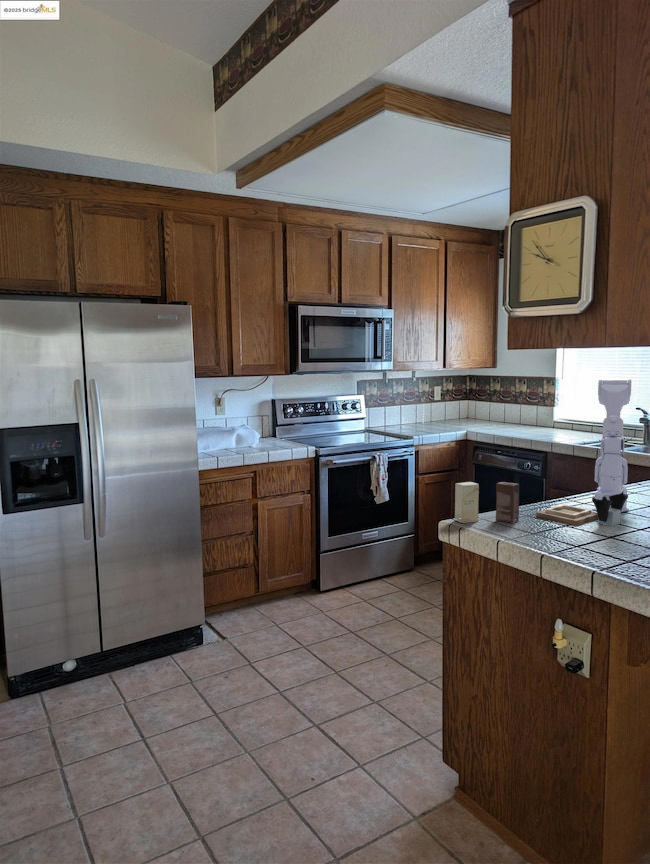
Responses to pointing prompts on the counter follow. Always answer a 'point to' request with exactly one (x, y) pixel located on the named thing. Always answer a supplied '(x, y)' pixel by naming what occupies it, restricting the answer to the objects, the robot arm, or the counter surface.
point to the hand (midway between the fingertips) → (609, 518)
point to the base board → (568, 514)
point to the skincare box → (466, 502)
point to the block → (612, 517)
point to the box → (507, 502)
